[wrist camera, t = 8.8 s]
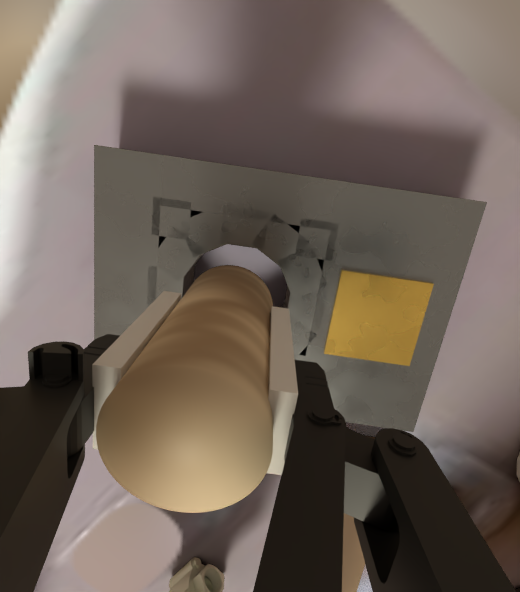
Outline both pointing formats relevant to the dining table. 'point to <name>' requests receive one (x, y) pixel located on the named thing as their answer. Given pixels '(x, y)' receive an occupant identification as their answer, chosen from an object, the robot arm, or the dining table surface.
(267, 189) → the flange board
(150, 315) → the robot arm
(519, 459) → the supplement can
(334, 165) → the dining table surface
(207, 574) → the pneumatic valve
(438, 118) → the dining table surface
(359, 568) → the brown wooden bar
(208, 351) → the peg
